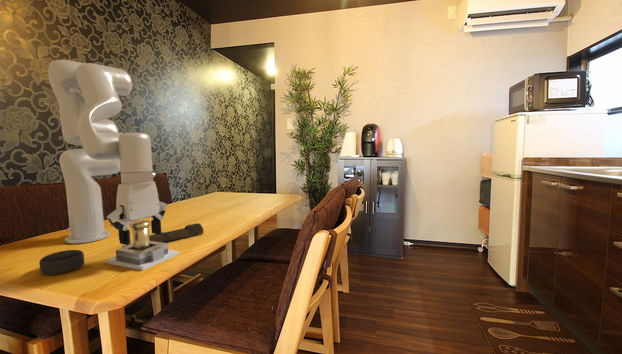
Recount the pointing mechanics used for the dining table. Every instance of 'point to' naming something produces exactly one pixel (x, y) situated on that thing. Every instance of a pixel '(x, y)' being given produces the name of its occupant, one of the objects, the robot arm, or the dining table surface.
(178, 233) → the hand tool
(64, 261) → the smart speaker
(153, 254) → the grey holder fixture
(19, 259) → the dining table surface
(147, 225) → the brass pin
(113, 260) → the board
